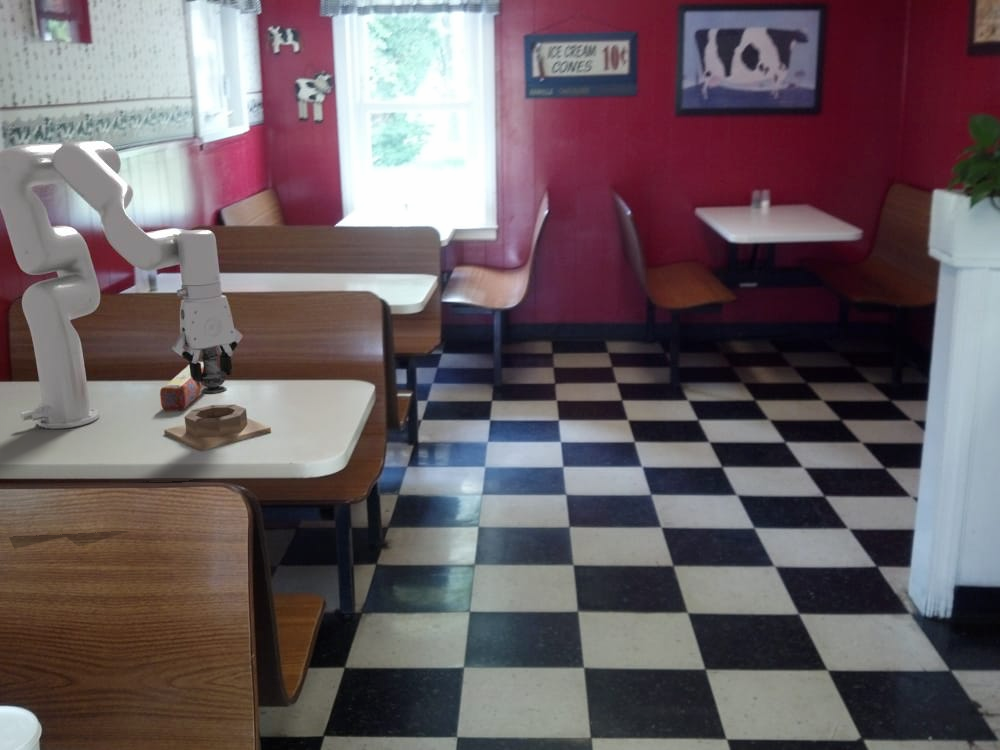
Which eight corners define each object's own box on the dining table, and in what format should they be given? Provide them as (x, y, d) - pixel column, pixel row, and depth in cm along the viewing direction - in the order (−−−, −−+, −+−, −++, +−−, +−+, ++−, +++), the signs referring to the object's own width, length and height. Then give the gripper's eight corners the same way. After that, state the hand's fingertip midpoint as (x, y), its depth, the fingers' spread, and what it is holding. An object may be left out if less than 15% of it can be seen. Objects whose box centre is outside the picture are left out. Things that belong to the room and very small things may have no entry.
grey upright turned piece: (232, 386, 214) (226, 331, 211) (222, 394, 209) (215, 337, 205) (205, 387, 215) (199, 331, 212) (194, 395, 209) (187, 338, 206)
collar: (201, 450, 203) (198, 429, 202) (164, 434, 214) (162, 413, 213) (271, 431, 214) (269, 411, 213) (232, 417, 225) (230, 397, 224)
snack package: (187, 412, 231) (184, 383, 229) (159, 412, 231) (155, 384, 229) (216, 386, 251) (213, 360, 250) (189, 387, 252) (186, 360, 250)
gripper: (171, 300, 198) (182, 389, 203) (249, 287, 209) (258, 371, 214) (153, 296, 203) (164, 383, 208) (231, 283, 215) (239, 366, 219)
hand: (212, 376), depth 211 cm, fingers closed on grey upright turned piece, 5 cm apart
